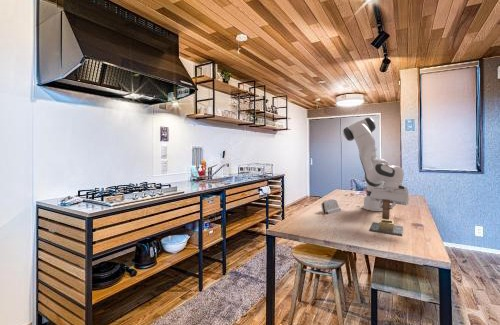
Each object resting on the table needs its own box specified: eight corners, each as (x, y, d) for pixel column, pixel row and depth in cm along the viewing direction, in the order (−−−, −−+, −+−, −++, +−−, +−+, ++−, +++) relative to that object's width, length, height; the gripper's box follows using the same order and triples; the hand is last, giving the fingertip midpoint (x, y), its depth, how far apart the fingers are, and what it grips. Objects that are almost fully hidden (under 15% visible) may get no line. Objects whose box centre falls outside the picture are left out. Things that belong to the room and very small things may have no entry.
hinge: (328, 214, 184) (324, 200, 186) (323, 215, 188) (319, 201, 190) (341, 210, 194) (338, 197, 197) (336, 211, 198) (332, 198, 200)
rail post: (382, 217, 152) (383, 198, 151) (389, 218, 150) (390, 199, 149) (381, 218, 149) (382, 200, 148) (388, 219, 147) (389, 200, 146)
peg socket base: (373, 223, 161) (373, 216, 160) (403, 227, 152) (403, 220, 152) (369, 230, 147) (369, 222, 147) (402, 235, 139) (402, 227, 138)
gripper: (372, 184, 161) (365, 201, 154) (410, 187, 147) (404, 207, 140) (374, 190, 164) (368, 208, 158) (411, 194, 150) (406, 214, 143)
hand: (385, 207), depth 149 cm, fingers closed on rail post, 4 cm apart
